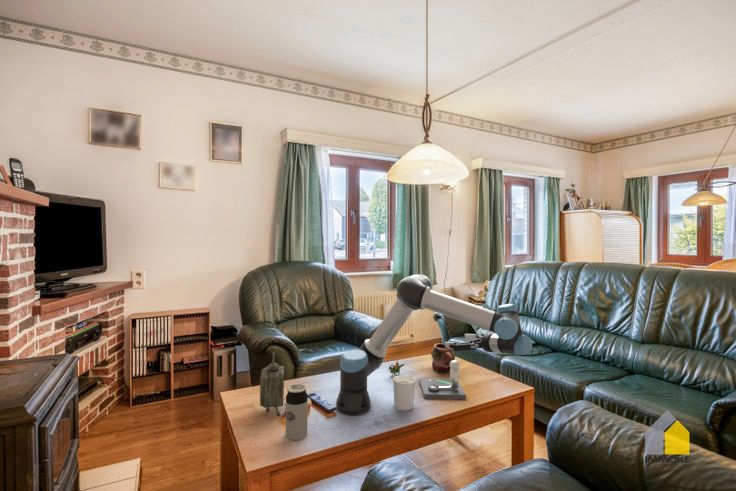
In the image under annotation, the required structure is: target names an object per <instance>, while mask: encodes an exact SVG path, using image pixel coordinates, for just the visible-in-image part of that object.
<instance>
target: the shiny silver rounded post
mask: <svg viewBox="0 0 736 491" xmlns="http://www.w3.org/2000/svg"><path fill="white" fill-rule="evenodd" d="M460 367H461V364H460V362H459V361H458V360H457V359H456V360H453V361H451V363H450V371H449V372H450V373H449V374H450V375H449V376H450V377H449V379H450V386H437V385H429V386H428V389H429V390H430V391H439V389H459V384H460Z"/></svg>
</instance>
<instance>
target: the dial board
mask: <svg viewBox="0 0 736 491" xmlns="http://www.w3.org/2000/svg"><path fill="white" fill-rule="evenodd" d="M418 380H419V382H418V383H419V385H420V386H419V387H420V389H421V392H422V395H423V399H426V400H427V399H434V400H435V399H437V400H466V399H467V395H466V392H465V391H464V389H463V387H462V385H461V384H460V383H459V389H439V391H430V390H429V389H428V386H429V385H437V386H450V378H435V377H432V378H431V377H430V378H428V377H427V378H426V377H422V378H421V377H419V379H418Z"/></svg>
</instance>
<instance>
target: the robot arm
mask: <svg viewBox="0 0 736 491" xmlns="http://www.w3.org/2000/svg"><path fill="white" fill-rule="evenodd" d="M395 296H396V301H394V304H393V305H392V307H391V308H390V309H389V310H388V312H387V314H386V315H385V317H384V318H383V320H382V321H381V322H380V324H379V325H378V327H377V328H376V329H375V331H374V333H372V334H373V335H372V336H371V337H370V338H367V339H365V340H364V342H363V343H362V344H361V346H360V347H359V348H358V349H351V350H347V351H345V352H344V353H342V355H341V356H340V361H339V366H340V368H339V369H340V370H339V371H340V376H339V377H340V378H339V379H340V381H339V382H340V384H339V385H340V388H339V392H338V396H337V399H336V400H335V401H336V402H335V409H336V410H337V412H338V413H340V414H344V415H346V416H347V415H348V416H360V415H363V414H366V413H368V412H369V411H371V409H372V401H371V398H370V397H371V396H370V395H369V390H368V377H369V376H370V375H371V374H372V373H374V372H375V371H377V370H378V369H379V368H380V367H381V366H382V364H383V361H384V359H385V357H386V356H387V349H388V348H389V346H390V344H392V342H393V340H394V339H395V337H396V336H397V334H398V333H399V331H401V328H402V327H403V326H404V324H405V323H406V322H407V320H408V318H409V317H410V316H411V315H412V314H413V311H414V312H415V311H418V310H420V311H423V310H430V311H432V312H434V313H437V314H440V315H443V316H445V317H449V318H452V319H454V320H456V321H460V322H463V323H466V324H468V325H471V326H474V327H475V328H476V327H477V328H479V329H482V330H485V331H487V332H491V333H484V332H481V333H476V334H475V333H464V338H465V341H464V342H456V341H445V342H444V344H445V347H446V348H449V349H453V352H459V351H476V350H477V349H483V351H485V352H487V353H495V354H496V353H498V354H501V355H504V354H508V355H515V356H516V355H517V356H522V355H525V356H526V355H529V354H530V353H531V351H532V348H533V343H532V339H531V337H530V336H529V335H526V334H524V333H523V330H522V327H521V325H522V324H521V320H520V317H519V311H518V308H517V305H516V304H514V303H506V304H500V305H498V306H497V307H496V311H494V310H491V309H489V308H485V307H482V306H480V305H477V304H473V303H471V302H468V301H464V300H462V299H458V298H456V297H453V296H449V295H447V294H444V293H441V292H439V291H438V292H437V291H435V290H433V283H432V281H431V280H430V278H429V277H427V276H426V275H424V274H421V273H415V274H412V275H409V276H407V277H404V278H402V279H401V280H400V281H399V283H398V284H397V288H396V295H395Z"/></svg>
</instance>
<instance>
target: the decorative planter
mask: <svg viewBox="0 0 736 491" xmlns="http://www.w3.org/2000/svg"><path fill="white" fill-rule="evenodd" d="M430 355H431V358H432V362H431V367H432V370H433V371H434V372H436V373H439V374H444V373H449V372H450V363H451V361H453V360H455V359H456V355H455V351H454V349H449V348H446V347H445V343H441V342H439V343H435V344H433V348H432V349H431V350H430Z"/></svg>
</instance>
